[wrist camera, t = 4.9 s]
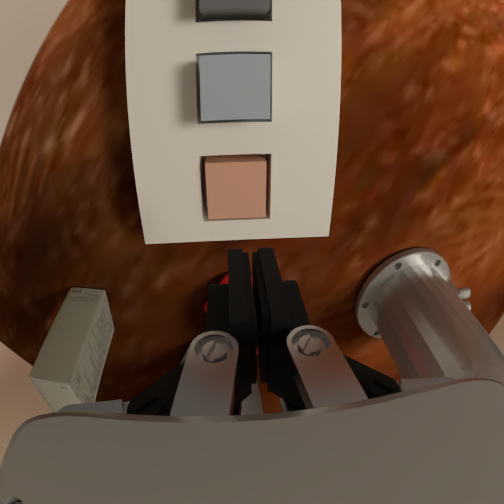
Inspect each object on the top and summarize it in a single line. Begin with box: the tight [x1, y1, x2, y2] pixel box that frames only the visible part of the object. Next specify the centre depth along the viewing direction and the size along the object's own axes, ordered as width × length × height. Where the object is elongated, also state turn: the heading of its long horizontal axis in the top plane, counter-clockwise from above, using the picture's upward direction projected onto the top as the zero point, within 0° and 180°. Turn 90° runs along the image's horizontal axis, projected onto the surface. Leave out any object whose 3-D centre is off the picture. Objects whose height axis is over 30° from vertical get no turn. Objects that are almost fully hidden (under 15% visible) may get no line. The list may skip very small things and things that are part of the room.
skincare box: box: [29, 287, 114, 412], centre depth 25 cm, size 6×4×12 cm
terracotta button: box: [205, 154, 266, 219], centre depth 22 cm, size 4×4×3 cm
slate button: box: [199, 54, 270, 121], centre depth 17 cm, size 4×4×3 cm
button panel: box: [125, 0, 341, 244], centre depth 19 cm, size 14×22×4 cm, turn 0°
